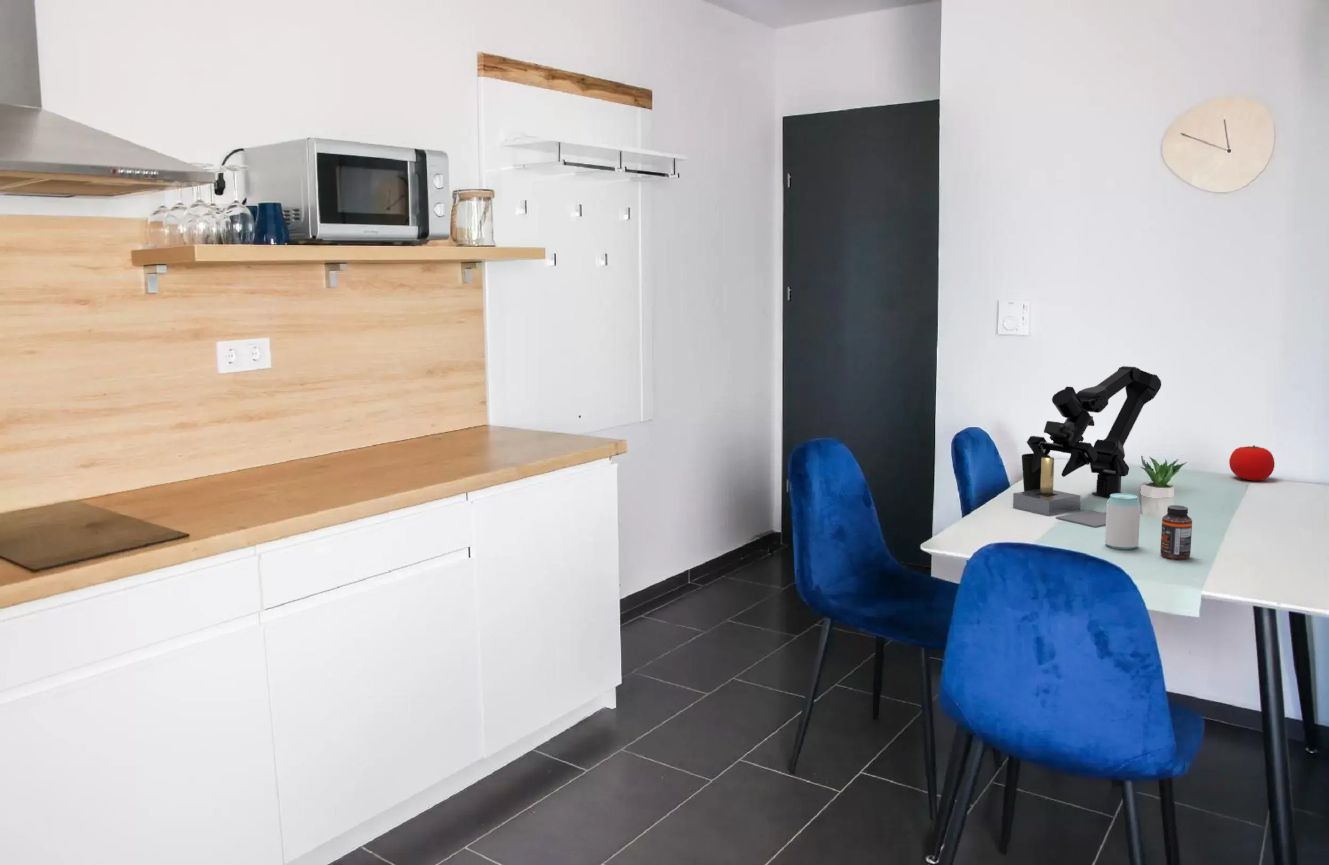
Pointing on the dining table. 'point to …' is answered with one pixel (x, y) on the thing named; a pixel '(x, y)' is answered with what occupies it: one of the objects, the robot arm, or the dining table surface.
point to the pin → (1047, 476)
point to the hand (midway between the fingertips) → (1047, 473)
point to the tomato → (1252, 463)
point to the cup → (1030, 473)
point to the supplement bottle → (1176, 533)
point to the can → (1122, 521)
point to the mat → (1086, 518)
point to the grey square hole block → (1046, 502)
